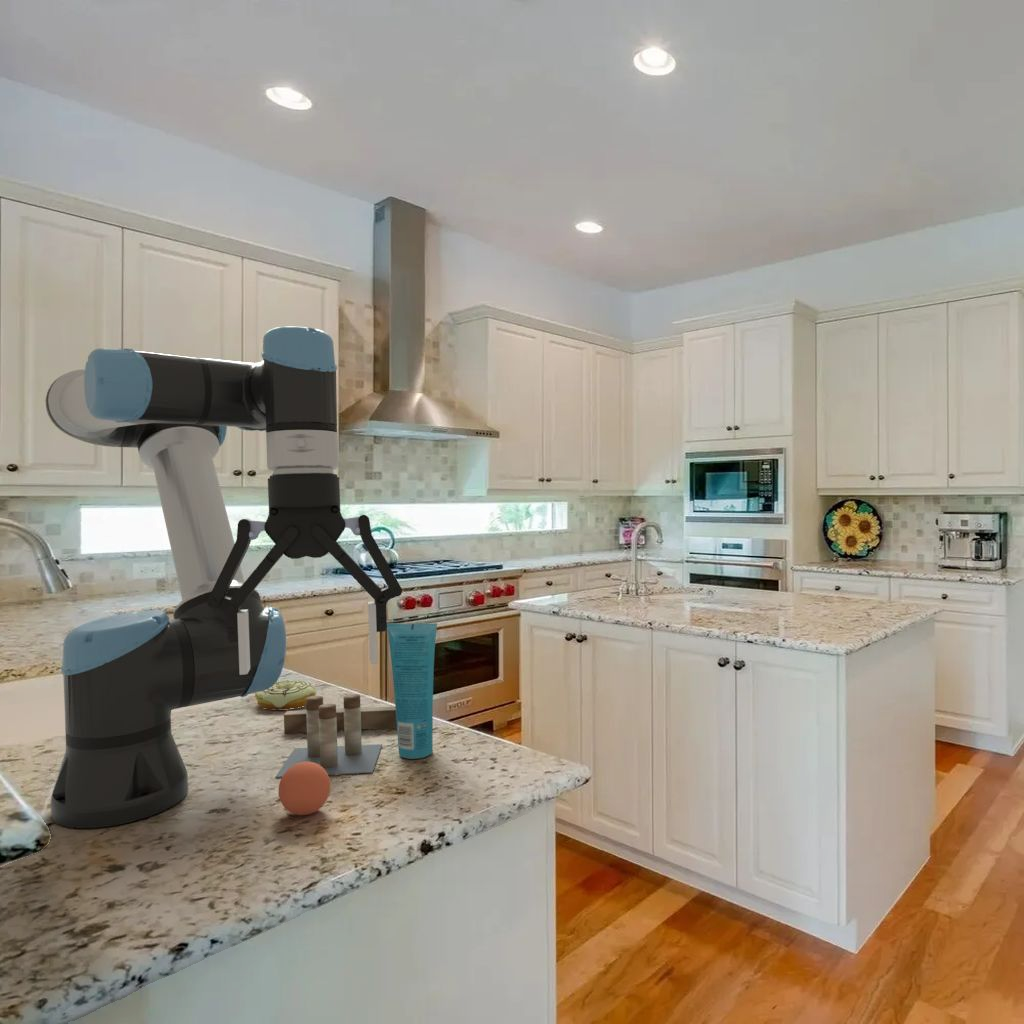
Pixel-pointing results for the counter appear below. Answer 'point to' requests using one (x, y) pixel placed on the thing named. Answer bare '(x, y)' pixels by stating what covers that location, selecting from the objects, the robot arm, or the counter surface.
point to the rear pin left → (352, 724)
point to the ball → (304, 788)
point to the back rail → (369, 719)
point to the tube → (413, 686)
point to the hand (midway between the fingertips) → (310, 666)
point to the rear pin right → (313, 725)
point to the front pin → (328, 735)
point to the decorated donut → (285, 695)
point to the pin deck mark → (345, 762)
